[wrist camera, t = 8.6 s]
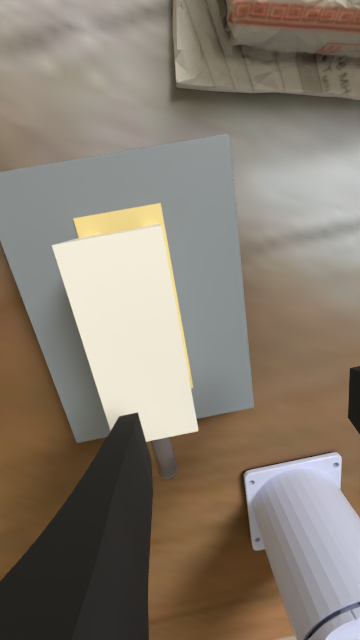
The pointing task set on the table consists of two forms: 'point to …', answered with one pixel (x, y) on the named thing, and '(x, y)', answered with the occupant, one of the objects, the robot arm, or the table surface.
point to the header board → (182, 253)
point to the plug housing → (131, 332)
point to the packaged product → (268, 46)
